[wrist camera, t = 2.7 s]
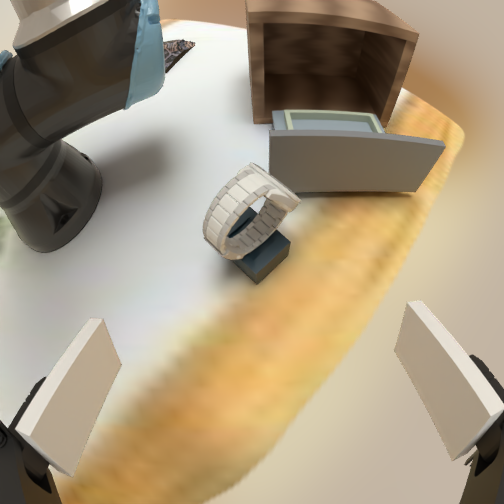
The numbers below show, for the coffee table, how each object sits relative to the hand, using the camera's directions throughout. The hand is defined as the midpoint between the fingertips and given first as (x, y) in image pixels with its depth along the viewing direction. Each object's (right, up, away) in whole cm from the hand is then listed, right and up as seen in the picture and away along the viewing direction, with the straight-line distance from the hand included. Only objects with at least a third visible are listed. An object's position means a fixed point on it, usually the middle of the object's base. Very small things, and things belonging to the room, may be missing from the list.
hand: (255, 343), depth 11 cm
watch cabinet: (+10, +28, +28) cm, 41 cm away
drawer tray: (+10, +16, +21) cm, 29 cm away
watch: (0, +4, +18) cm, 18 cm away
